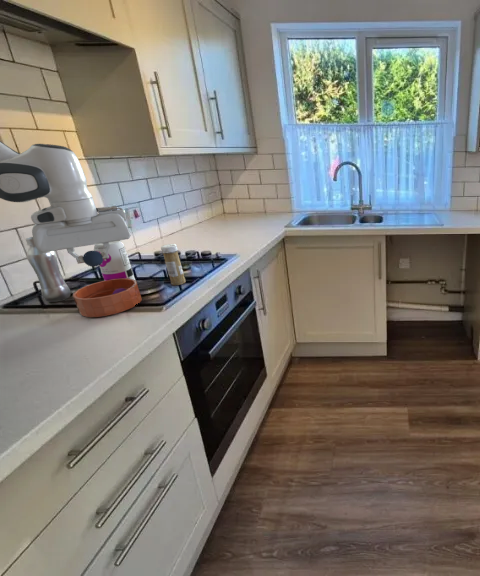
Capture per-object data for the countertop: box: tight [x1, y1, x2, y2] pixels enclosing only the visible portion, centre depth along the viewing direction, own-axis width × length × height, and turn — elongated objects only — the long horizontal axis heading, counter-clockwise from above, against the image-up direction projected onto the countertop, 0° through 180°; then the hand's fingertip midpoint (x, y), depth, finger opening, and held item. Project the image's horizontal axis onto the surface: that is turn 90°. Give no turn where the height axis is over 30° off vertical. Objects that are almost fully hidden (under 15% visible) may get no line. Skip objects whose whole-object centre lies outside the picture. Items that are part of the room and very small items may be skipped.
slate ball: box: [82, 250, 103, 267], centre depth 99 cm, size 4×4×4 cm
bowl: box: [72, 278, 143, 318], centre depth 106 cm, size 15×15×6 cm
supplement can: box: [93, 240, 136, 281], centre depth 120 cm, size 8×8×15 cm
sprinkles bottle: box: [160, 243, 187, 286], centre depth 121 cm, size 5×5×13 cm
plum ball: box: [112, 288, 126, 295], centre depth 108 cm, size 4×4×4 cm
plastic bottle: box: [25, 236, 71, 303], centre depth 109 cm, size 6×7×20 cm
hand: (93, 260), depth 100 cm, fingers closed on slate ball, 4 cm apart
